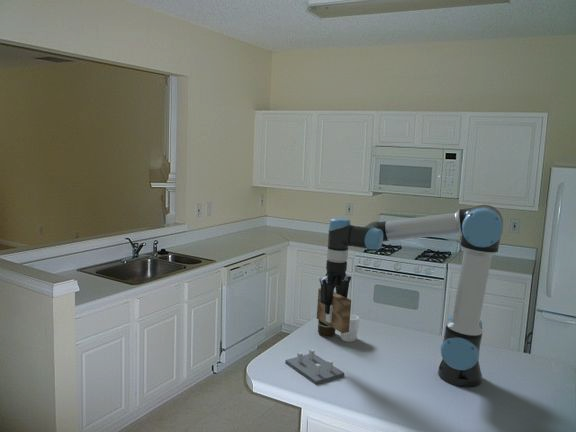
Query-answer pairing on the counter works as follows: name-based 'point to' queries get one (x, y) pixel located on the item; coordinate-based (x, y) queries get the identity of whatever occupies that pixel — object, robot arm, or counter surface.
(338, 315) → the brown wooden board
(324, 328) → the beer bottle
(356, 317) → the white cup
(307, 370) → the board
